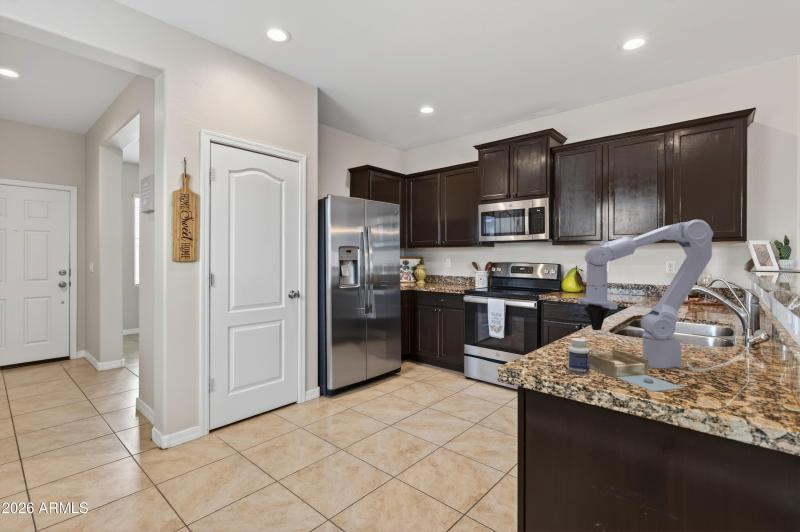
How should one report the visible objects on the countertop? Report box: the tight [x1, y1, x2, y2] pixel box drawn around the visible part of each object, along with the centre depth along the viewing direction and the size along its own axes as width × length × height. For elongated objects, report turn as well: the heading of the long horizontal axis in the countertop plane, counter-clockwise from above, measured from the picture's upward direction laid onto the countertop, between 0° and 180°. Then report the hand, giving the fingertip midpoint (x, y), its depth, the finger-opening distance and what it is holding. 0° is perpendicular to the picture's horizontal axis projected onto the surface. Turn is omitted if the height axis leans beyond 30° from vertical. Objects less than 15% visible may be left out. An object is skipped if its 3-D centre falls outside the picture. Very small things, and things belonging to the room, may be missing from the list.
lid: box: [616, 374, 684, 392], centre depth 97 cm, size 9×11×2 cm
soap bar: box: [612, 360, 625, 365], centre depth 109 cm, size 5×3×2 cm, turn 102°
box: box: [590, 349, 649, 379], centre depth 109 cm, size 11×12×5 cm
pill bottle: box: [567, 337, 591, 375], centre depth 107 cm, size 5×5×10 cm
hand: (596, 329), depth 118 cm, fingers closed
